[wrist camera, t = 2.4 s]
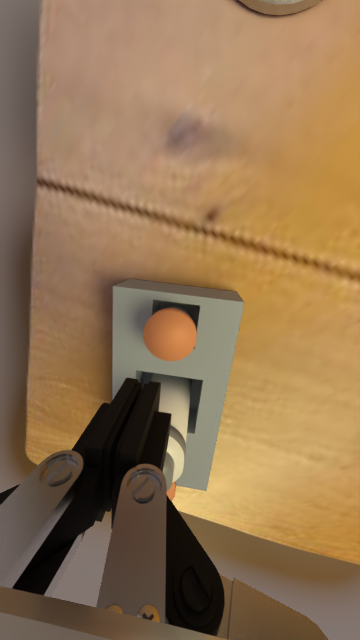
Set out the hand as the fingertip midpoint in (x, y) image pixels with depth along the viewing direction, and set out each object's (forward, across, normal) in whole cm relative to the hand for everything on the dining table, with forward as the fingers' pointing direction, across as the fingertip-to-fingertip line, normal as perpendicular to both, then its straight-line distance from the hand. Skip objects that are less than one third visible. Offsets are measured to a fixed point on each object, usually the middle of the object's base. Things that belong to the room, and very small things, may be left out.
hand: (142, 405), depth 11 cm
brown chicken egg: (+13, 0, 0) cm, 13 cm away
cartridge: (+15, 0, +8) cm, 17 cm away
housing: (+16, 0, +8) cm, 18 cm away
